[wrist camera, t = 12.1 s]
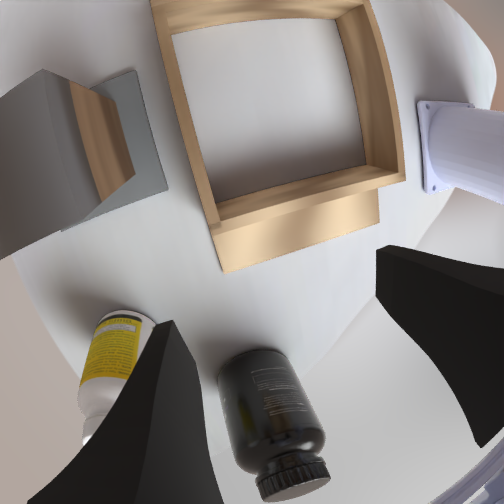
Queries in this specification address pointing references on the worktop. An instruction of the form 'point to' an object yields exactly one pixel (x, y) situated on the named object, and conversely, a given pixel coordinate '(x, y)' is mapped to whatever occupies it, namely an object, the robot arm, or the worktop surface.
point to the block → (56, 157)
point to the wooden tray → (311, 189)
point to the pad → (131, 145)
